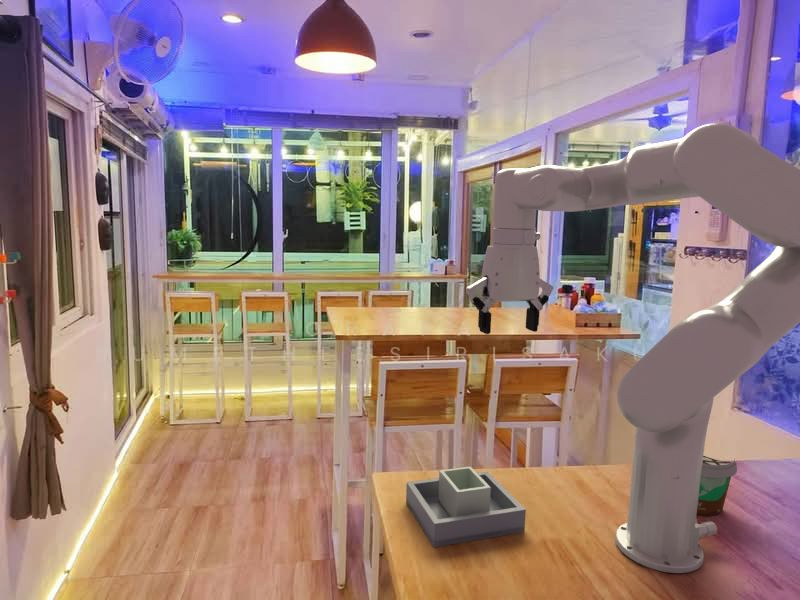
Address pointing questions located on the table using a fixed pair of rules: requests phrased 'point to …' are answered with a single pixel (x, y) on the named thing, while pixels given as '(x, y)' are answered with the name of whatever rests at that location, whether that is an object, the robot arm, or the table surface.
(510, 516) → the big crate
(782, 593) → the table surface
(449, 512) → the small crate
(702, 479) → the food container
